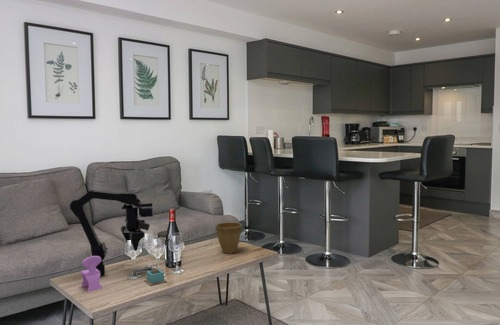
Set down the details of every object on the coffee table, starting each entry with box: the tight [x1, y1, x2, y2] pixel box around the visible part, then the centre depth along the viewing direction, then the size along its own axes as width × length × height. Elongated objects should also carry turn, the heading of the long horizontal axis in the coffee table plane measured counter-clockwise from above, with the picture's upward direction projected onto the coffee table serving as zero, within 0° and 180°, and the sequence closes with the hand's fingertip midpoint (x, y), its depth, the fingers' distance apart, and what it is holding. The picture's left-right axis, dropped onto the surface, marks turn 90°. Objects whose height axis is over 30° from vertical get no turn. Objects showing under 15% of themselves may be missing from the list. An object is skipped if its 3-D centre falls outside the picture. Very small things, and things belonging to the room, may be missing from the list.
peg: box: [143, 268, 168, 287], centre depth 190 cm, size 8×8×6 cm
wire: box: [132, 266, 155, 277], centre depth 198 cm, size 9×7×2 cm
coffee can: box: [156, 230, 168, 261], centre depth 227 cm, size 10×10×14 cm
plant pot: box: [215, 221, 242, 254], centre depth 236 cm, size 15×15×16 cm
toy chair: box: [80, 255, 103, 293], centre depth 184 cm, size 8×9×15 cm
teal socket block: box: [146, 268, 165, 284], centre depth 190 cm, size 6×6×4 cm
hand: (132, 248), depth 202 cm, fingers open, 9 cm apart
